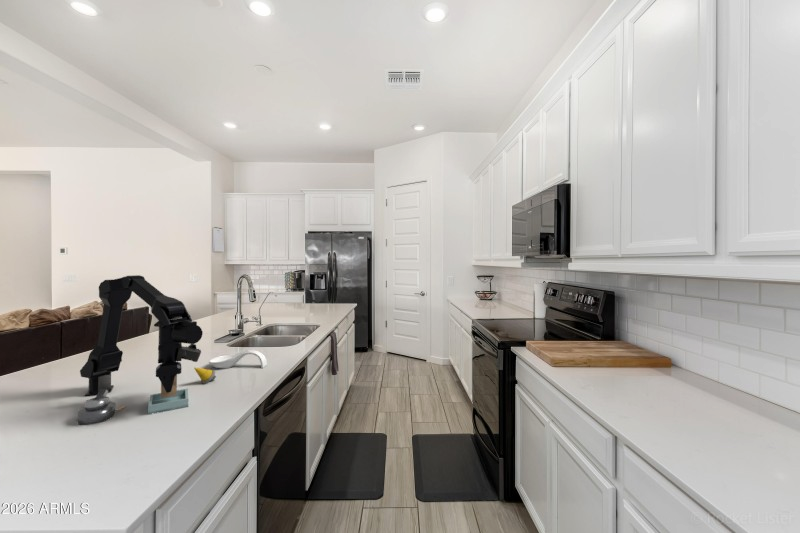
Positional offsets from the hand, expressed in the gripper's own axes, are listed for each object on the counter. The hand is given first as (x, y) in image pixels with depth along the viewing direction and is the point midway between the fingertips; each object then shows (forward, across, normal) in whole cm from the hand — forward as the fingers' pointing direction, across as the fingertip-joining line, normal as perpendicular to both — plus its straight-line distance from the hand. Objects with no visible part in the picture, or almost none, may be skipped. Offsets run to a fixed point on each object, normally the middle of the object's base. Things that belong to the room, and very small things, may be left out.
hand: (169, 389), depth 103 cm
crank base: (+5, 0, +16) cm, 17 cm away
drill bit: (+5, +15, -11) cm, 19 cm away
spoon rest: (+5, +30, -24) cm, 39 cm away
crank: (+1, +5, +17) cm, 18 cm away
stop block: (+2, 0, 0) cm, 2 cm away
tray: (+5, 0, 0) cm, 5 cm away
